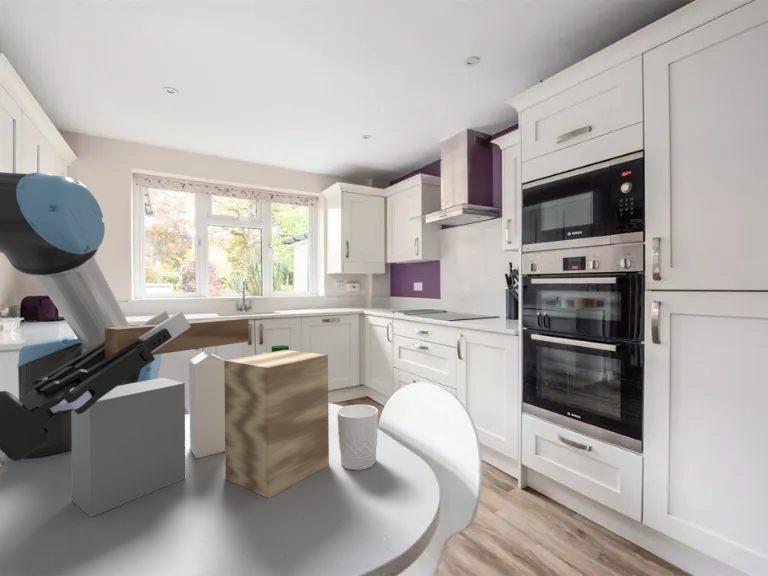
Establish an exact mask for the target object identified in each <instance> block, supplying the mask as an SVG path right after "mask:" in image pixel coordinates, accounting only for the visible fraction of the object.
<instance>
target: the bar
mask: <svg viewBox="0 0 768 576" xmlns="http://www.w3.org/2000/svg"><path fill="white" fill-rule="evenodd" d="M187 321H188V320H187ZM249 322H250V320H249V318H247V317H246V318H244V317H243V318H241V317H228V318H215V319H202V320H191V321H188V323H189V325H190V326H191V327H190V328H188V329H187V330H186V331H184V332H183V333H181V334H180V335H178V336H177V337H175V338H174V339H172V340H171V341H169V342H168V343H166V344H165V345H163V346H162V347H161V348H159V349H158V350H156V351H155V352H153V353H152V355H157V354H161V355H162V354H170V353H177V352H184V351H191V350H192V351H193V350H198V349H204V348H206V347H211V348H212V347H219V346H225V345H232V344H233V345H234V344H240V343H241V344H242V343H248V342H250V333H249V332H250V326H249V324H250V323H249ZM157 325H159V324H148V325H141V324H137V325H129V326H123V327H110V328H105V357H106V358H108V357H110V356H112V355H114V354H115V353H117V352H119V351H121V350H122V349H124V348H126V347H128V346H130V345H131V344H133V343H135V342H136V341H138V340H139V339H138V337H140V336H141V335H143V334H145V333H146V332H148V331H149V330H151V329H152V328H154V327H156V326H157Z"/></svg>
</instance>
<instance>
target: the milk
mask: <svg viewBox="0 0 768 576" xmlns="http://www.w3.org/2000/svg"><path fill="white" fill-rule="evenodd" d="M203 350H204V351H202V352H200V353H199V354H197V355H196V356H194V357H193V358H191V359H189V430H190V431H189V439H190V440H189V443H190V444H189V447H190V451H191V452H192V454H193V456H194V458H195V459H200V458H203V457H208V456H211V455H215V454H220V453H223V452H224V453H225V377H224V360H225V359H223V358H222V357H220V356H217V355H215V354H213V353H212V347H206V348H203Z"/></svg>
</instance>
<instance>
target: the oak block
mask: <svg viewBox="0 0 768 576" xmlns="http://www.w3.org/2000/svg"><path fill="white" fill-rule="evenodd" d="M263 353H264V354H262V353H259V354H253V355H248V356H242V357H236V358H231V359H223V360H224V377H225V451H224V454H225V455H224V461H225V462H224V469H225V471H224V476H225V479H226V480H229V481H231V482H234V483H235V484H237V485H239V486H242V487H244V488H245V489H248V490H250V491H251V492H255V493H257V494H259V495H261V496H262V497H264V498H266V499H271V498H272V497H275V496H276V495H278V494H279V493H281V492H284V491H285V490H288V488H290V487H292V486H293V485H295V484H297V483H299V482H301V481H303V480H305V479H307V478H308V477H310V476H312V475H314V474H315V473H317V472H319V471H320V470H322V469H324V468H325V467H328V466H329V465H330V451H329V448H330V446H329V445H330V443H329V442H330V440H329V439H330V437H329V433H330V432H329V430H330V428H329V425H330V424H329V355H328V354H324V353H323V354H322V353H315V352H306V351H299V350H290V349H289V350H281V351H276V352H272V351H270V352H263Z"/></svg>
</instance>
